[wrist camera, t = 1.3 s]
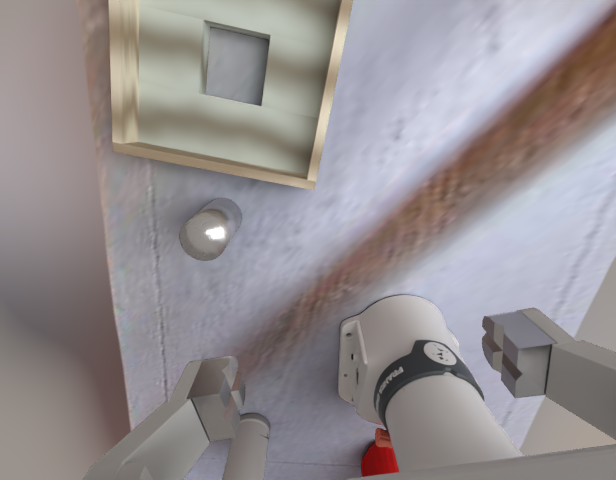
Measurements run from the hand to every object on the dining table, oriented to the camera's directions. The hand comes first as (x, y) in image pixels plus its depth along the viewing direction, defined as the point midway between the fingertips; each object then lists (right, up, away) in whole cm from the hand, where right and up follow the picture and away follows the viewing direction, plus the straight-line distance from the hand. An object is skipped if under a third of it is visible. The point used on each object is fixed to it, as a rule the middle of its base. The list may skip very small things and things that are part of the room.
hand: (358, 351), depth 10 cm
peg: (-13, +7, +32) cm, 35 cm away
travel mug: (-11, -30, +46) cm, 56 cm away
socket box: (-10, +23, +26) cm, 36 cm away
